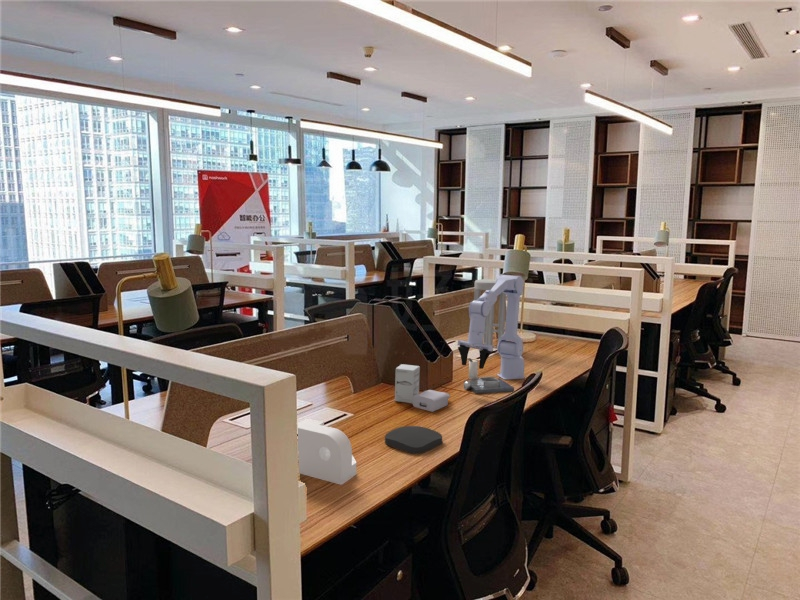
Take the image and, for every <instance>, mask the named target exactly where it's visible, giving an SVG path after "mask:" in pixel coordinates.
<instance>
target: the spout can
mask: <svg viewBox="0 0 800 600" xmlns="http://www.w3.org/2000/svg"><path fill="white" fill-rule="evenodd" d="M467 361H469V362H468V364H469V365H468V379H469V380H477V379H478V374H479V373H478V370H479V361H478V360H475V359H471V357H469V358H467Z"/></svg>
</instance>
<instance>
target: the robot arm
mask: <svg viewBox="0 0 800 600" xmlns="http://www.w3.org/2000/svg"><path fill="white" fill-rule="evenodd" d="M495 280H496V284H495V285H494V286H493V288H492V289H491V290H484V292H483V293H482V295H481V294H480V297H479V298H478V299H477V300H474V299H473V300H472V301H470V303H469V306H468V314H469V315H468V317H469V319H470V320H469V327H468V329H469V330H468V336H467V340H457V343H456V344H457V346H458V347H457V350H458V351H459V355H460V358H461V359H460V360H461V366H467V362H468V355H469V352H470V348H471V349H472V348H473V349H478V350H479V362H478V370H479V369H481V370H483V369H484V368H485V364H486V363H487V362H486V361H487V360H488V358H489V356H490V355H491V354H492V352H493V350H494V345H493V346H491V345H486V344H484V328H485V320H486V316H487V315H488V314H489V311H490V309H491V306H492V305H493V304H494V305H495V303H496V302H497V301H498V296H500V294H501V293H502V292H503V293H505V294H506V298H507V301H506V302H507V303H506V311H505V326H504V335H502V336H501V337H500V338H499V342H498V341H497V346H496V351H497V352H498V354H499V357H500V373H496V375H497V376H498V377H500V379H502V380H503V381H505V380H519V379H521V380H522V379H525V359H524V358H523V356H522V355H523V353H524V343H523V341H524V340H523V338H522V337H520V336H519V334H518V327H519V313H520V301H521V300H520V299H521V296H522V295H523V294H524V279H523V276H521V275H512V274H511V275H510V274H502V273H500V274H498V276H497V277H496V279H495ZM474 346H478V347H474Z"/></svg>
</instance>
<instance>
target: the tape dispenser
mask: <svg viewBox="0 0 800 600" xmlns="http://www.w3.org/2000/svg"><path fill="white" fill-rule="evenodd" d="M297 423H298V451H299V473H298V474H300V475H304V476H306V477H312V478H315V479H318V480H319V479H320V480H323V481H325V482H330V483H333V484H338V485H344V484H345V483H346V482H348V481H349V480H351V479H353V478H354V477H355V476H357V465H358V464H357V461H356V459H355V457H354V455H353V448H352V443H351V441H350V438H349V437H348V436H347V435H346V434H345V433H344V431H342V430H341V429H338V428H336V427H330V426H326V425H325V421H320V420H315V419H311V418H306V419H304V420H301V421H299V422H297Z"/></svg>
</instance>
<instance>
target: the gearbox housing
mask: <svg viewBox="0 0 800 600" xmlns="http://www.w3.org/2000/svg"><path fill="white" fill-rule="evenodd" d="M463 388H464V390H466V391H467V390H470V391H471V392H473V394H475V395H478V394H481V395H482V394H493V393H495V394H497V393H511V392H515V387H514V386H512V384H509V383H508V382H506V381H505V380H504V379H503V378H496V377H495V376H481V377H478V376H477V379H476V380H471V379H469V380H463Z"/></svg>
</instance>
